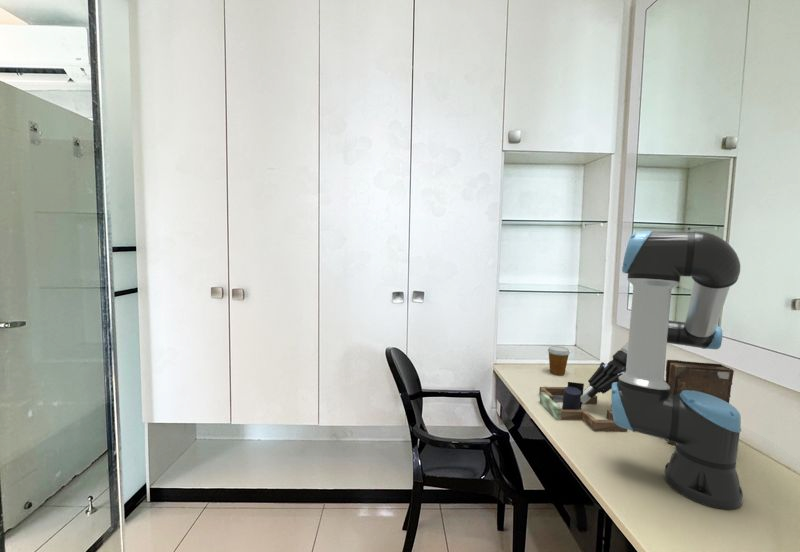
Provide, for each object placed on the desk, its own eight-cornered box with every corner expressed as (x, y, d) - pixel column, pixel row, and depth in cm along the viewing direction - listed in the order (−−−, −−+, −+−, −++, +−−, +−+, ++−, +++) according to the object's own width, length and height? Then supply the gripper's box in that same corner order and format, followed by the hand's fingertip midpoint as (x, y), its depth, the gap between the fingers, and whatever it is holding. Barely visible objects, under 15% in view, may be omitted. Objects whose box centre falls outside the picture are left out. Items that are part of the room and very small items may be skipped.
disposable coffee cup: (549, 368, 178) (550, 344, 177) (570, 373, 173) (571, 348, 171) (543, 374, 170) (545, 348, 169) (565, 378, 165) (567, 353, 164)
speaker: (564, 403, 138) (567, 378, 136) (581, 408, 135) (584, 383, 133) (559, 413, 132) (562, 386, 130) (577, 418, 129) (580, 391, 127)
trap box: (631, 431, 119) (632, 419, 119) (567, 431, 118) (568, 419, 118) (584, 394, 148) (584, 384, 148) (531, 394, 147) (532, 384, 147)
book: (717, 440, 115) (726, 363, 112) (731, 453, 108) (741, 371, 105) (657, 432, 119) (664, 358, 117) (667, 444, 112) (674, 365, 110)
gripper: (648, 370, 126) (597, 416, 127) (623, 358, 139) (577, 400, 140) (634, 355, 125) (583, 401, 126) (611, 344, 138) (565, 386, 140)
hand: (580, 400), depth 133 cm, fingers closed
